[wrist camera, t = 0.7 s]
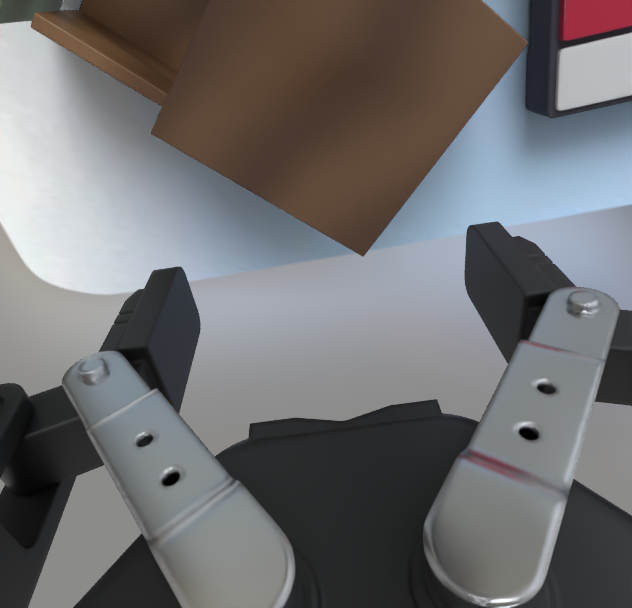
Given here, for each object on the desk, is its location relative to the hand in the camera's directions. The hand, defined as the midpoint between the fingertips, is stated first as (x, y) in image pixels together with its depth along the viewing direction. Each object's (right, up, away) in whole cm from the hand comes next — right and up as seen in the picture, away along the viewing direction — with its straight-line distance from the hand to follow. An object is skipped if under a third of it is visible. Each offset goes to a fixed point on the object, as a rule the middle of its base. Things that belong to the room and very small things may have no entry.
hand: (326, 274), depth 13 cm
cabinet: (0, +16, +19) cm, 25 cm away
